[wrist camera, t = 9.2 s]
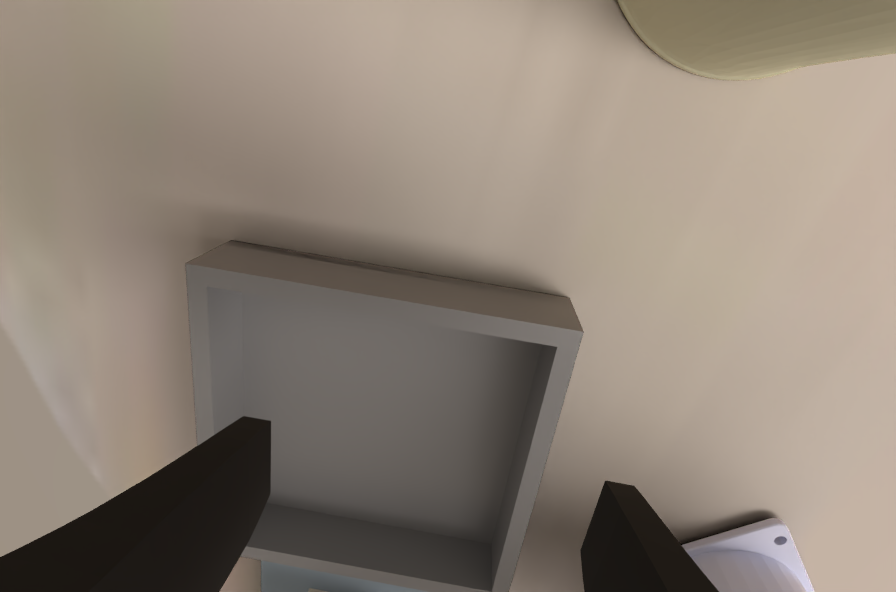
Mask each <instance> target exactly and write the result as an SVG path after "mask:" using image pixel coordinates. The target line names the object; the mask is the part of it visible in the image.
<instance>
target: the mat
mask: <svg viewBox="0 0 896 592" xmlns="http://www.w3.org/2000/svg"><path fill="white" fill-rule="evenodd" d="M309 588H312V589H317V590H322V591H327V592H428V591H422V590H417V589H412V588H406V587H401V586H396V585H390V584H385V583H380V582H374V581H369V580H363V579H358V578H353V577H347V576H342V575H337V574H331V573H326V572H321V571H315V570H310V569H304V568H299V567H294V566H288V565H283V564H278V563H272V562H267V561H262V560H261V592H308V591H309Z"/></svg>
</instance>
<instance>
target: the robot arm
mask: <svg viewBox="0 0 896 592" xmlns="http://www.w3.org/2000/svg"><path fill="white" fill-rule="evenodd" d="M270 494H271V421H269V420H264V419H258V418H252V417H247V416H243V417H241V418H239V419H238V420H236V421H235V422H233V423H232V424H230V425H229V426H227V427H225V428H224V429H222V430H221V431H219V432H218V433H216V434H215V435H213V436H212V437H210V438H209V439H207V440H206V441H204V442H203V443H201V444H200V445H198V446H197V447H195V448H193V449H192V450H190V451H189V452H187V453H186V454H184V455H183V456H181V457H180V458H178V459H177V460H175V461H173V462H172V463H170V464H169V465H167V466H165V467H164V468H162V469H161V470H159V471H158V472H156V473H154V474H153V475H151V476H150V477H148V478H146V479H145V480H143V481H141V482H140V483H138V484H136V485H135V486H133V487H131V488H129V489H128V490H126V491H124V492H123V493H121V494H119V495H117V496H116V497H114V498H112V499H111V500H109V501H108V502H106V503H104V504H102V505H100V506H99V507H97V508H95V509H94V510H92V511H90V512H88V513H86V514H85V515H83V516H81V517H79V518H77V519H75V520H73V521H72V522H70V523H68V524H66V525H64V526H62V527H60V528H58V529H56V530H54V531H53V532H51V533H48V534H46V535H45V536H42V537H41V538H38V539H37V540H34V541H33V542H31V543H29V544H27V545H25V546H23V547H21V548H19V549H17V550H15V551H12V552H10V553H8V554H6V555H4V556H2V557H0V592H219V591H220V589H221V588H222V586H223V584H224V583H225V581H226V579H227V578H228V576H229V574H230V573H231V571H232V569H233V567H234V566H235V564H236V562H237V561H238V559H239V557H240V556H241V554H242V552H243V550H244V549H245V547H246V545H247V544H248V542H249V540H250V538H251V536H252V534H253V532H254V529H255V527H256V525H257V523H258V521H259V519H260V516H261V514H262V512H263V510H264V507H265V505H266V503H267V501H268V498H269V496H270ZM581 561H582V572H583V582H584V591H585V592H815V591H814V589H813V586H812V584H811V582H810V579H809V577H808V574H807V572H806V570H805V567H804V565H803V562H802V560H801V558H800V555H799V553H798V551H797V548H796V546H795V543H794V541H793V539H792V536H791V534H790V531H789V529H788V527H787V526H786V525H785V523H784V522H783V521H782V520H781V519H778V518H770V519H766V520H763V521H760V522H756V523H753V524H750V525H746V526H743V527H740V528H736V529H733V530H730V531H726V532H723V533H720V534H716V535H713V536H710V537H707V538H703V539H700V540H697V541H693V542H690V543H687V544H683V545H681V544H680V543H679V542H678V541H677V539H676V538H675V537H674V536H673V534H672V533H671V532H670V530H669V529H668V528H667V527H666V525H665V524H664V523H663V522H662V520H661V519H660V518H659V516H658V515H657V514H656V513H655V511H654V510H653V509H652V507H651V506H650V505H649V504H648V502H647V501H646V500H645V499H644V497H643V496H642V495H641V494H640V492H639V491H638V490H637V489H636V487H635V486H632V485H626V484H621V483H615V482H610V481H605V483H604V486H603V489H602V491H601V494H600V497H599V500H598V503H597V506H596V508H595V511H594V514H593V517H592V520H591V522H590V525H589V528H588V531H587V534H586V537H585V539H584V542H583V545H582V548H581Z"/></svg>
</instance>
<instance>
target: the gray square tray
mask: <svg viewBox="0 0 896 592" xmlns="http://www.w3.org/2000/svg"><path fill="white" fill-rule="evenodd" d="M185 265H186V280H187V296H188V311H189V327H190V342H191V357H192V373H193V388H194V404H195V419H196V434H197V446H198V445H200V444H201V443H203V442H204V441H206V440H207V439H209V438H210V437H212V436H213V435H215V434H216V433H218V432H219V431H221V430H222V429H224V428H225V427H227V426H229V425H230V424H232V423H233V422H235V421H236V420H238V419H239V418H241V417H243V416H247V417H252V418H258V419H264V420H269V421H271V494H270V496H269V498H268V501H267V503H266V505H265V507H264V510H263V512H262V514H261V516H260V519H259V521H258V523H257V525H256V527H255V529H254V532H253V534H252V536H251V538H250V540H249V542H248V544H247V545H246V547H245V549H244V550H243V552H242V554H241V556H240V557H245V558H251V559H256V560H262V561H267V562H272V563H278V564H283V565H288V566H294V567H299V568H304V569H310V570H315V571H321V572H326V573H331V574H337V575H342V576H347V577H353V578H358V579H363V580H369V581H374V582H380V583H385V584H390V585H396V586H401V587H406V588H412V589H417V590H422V591H428V592H509V589H510V586H511V582H512V579H513V575H514V572H515V568H516V565H517V561H518V558H519V555H520V551H521V548H522V544H523V541H524V537H525V534H526V530H527V527H528V523H529V520H530V516H531V513H532V509H533V506H534V502H535V499H536V496H537V492H538V489H539V485H540V482H541V478H542V475H543V471H544V468H545V464H546V461H547V457H548V454H549V450H550V447H551V443H552V440H553V437H554V433H555V430H556V426H557V423H558V419H559V416H560V412H561V409H562V405H563V402H564V398H565V395H566V391H567V388H568V385H569V381H570V378H571V374H572V371H573V367H574V364H575V360H576V357H577V353H578V350H579V346H580V343H581V339H582V336H583V329H582V327H581V324H580V322H579V319H578V317H577V315H576V312H575V310H574V307H573V305H572V303H571V300H570V298H567V297H561V296H555V295H549V294H543V293H538V292H532V291H526V290H520V289H514V288H508V287H502V286H496V285H491V284H485V283H479V282H473V281H467V280H461V279H455V278H450V277H444V276H438V275H432V274H426V273H420V272H414V271H408V270H403V269H397V268H391V267H385V266H379V265H373V264H367V263H361V262H356V261H350V260H344V259H338V258H332V257H326V256H320V255H314V254H309V253H303V252H297V251H291V250H285V249H279V248H273V247H267V246H262V245H256V244H250V243H244V242H238V241H232V240H231V241H229V242H227V243H225V244H223V245H221V246H219V247H217V248H215V249H213V250H211V251H209V252H207V253H205V254H203V255H201V256H199V257H197V258H195V259H193V260H191V261H189V262H187V263H185Z"/></svg>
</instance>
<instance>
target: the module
mask: <svg viewBox="0 0 896 592" xmlns="http://www.w3.org/2000/svg"><path fill="white" fill-rule="evenodd" d="M308 592H327V591H322V590H317V589H312V588H309V591H308Z"/></svg>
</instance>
